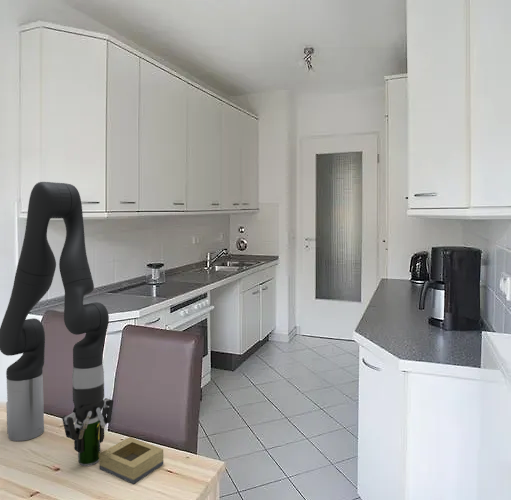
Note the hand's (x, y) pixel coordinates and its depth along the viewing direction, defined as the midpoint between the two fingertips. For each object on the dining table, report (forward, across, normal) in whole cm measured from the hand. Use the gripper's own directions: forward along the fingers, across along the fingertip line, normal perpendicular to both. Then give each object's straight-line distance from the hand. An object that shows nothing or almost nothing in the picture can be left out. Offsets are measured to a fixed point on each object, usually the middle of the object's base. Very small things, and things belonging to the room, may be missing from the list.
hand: (89, 446), depth 113 cm
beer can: (+4, 0, 0) cm, 4 cm away
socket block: (+4, -4, +11) cm, 12 cm away
